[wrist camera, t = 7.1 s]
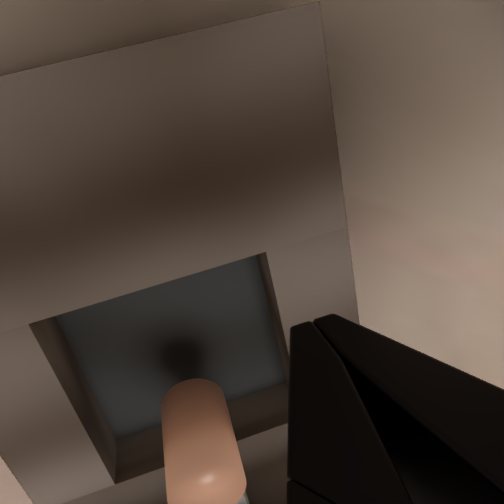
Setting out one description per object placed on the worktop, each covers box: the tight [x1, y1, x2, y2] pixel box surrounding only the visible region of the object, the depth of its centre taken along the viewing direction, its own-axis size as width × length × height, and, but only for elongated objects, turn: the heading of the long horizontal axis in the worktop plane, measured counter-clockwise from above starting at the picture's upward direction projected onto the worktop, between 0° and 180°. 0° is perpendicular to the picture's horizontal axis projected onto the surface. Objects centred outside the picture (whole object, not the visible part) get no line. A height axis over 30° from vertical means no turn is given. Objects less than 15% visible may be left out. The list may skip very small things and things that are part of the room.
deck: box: [0, 1, 360, 504], centre depth 21 cm, size 38×14×2 cm, turn 12°
